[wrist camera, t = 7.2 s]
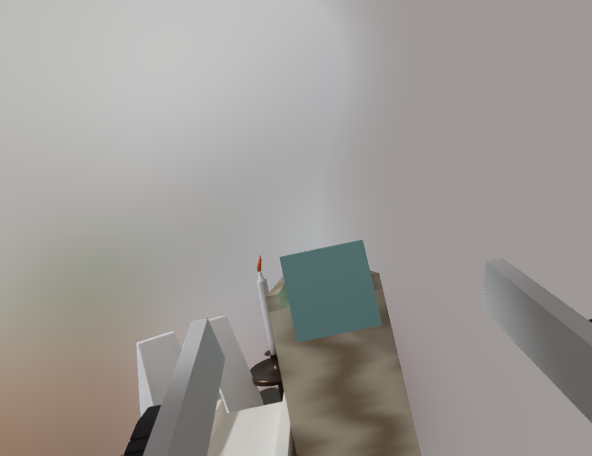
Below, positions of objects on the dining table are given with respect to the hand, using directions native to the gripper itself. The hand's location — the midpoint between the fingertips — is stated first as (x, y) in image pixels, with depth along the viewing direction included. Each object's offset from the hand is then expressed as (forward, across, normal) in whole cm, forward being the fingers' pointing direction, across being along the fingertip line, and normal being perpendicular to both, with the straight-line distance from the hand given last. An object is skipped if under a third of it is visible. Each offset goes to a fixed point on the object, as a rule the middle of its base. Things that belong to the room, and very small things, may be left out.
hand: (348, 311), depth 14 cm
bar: (+12, -1, -8) cm, 15 cm away
